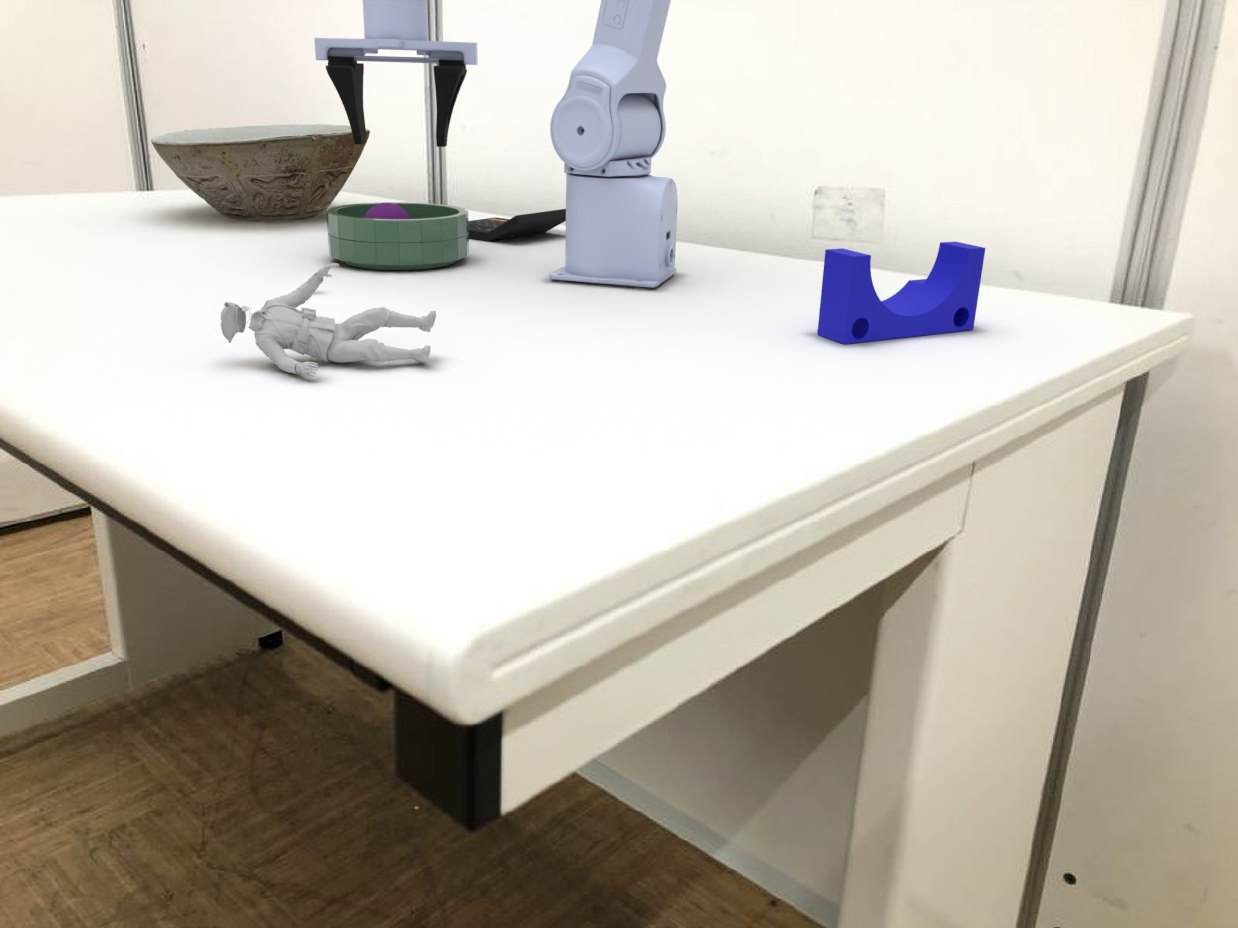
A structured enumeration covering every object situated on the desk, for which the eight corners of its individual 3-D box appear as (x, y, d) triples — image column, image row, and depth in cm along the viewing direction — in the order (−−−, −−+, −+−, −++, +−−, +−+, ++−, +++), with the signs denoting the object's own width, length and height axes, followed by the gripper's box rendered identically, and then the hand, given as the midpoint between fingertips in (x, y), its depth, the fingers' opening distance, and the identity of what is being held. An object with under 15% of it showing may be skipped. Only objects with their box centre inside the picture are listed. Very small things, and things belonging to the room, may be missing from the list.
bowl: (115, 224, 115) (101, 127, 111) (226, 199, 137) (218, 118, 133) (322, 235, 111) (315, 135, 108) (402, 208, 133) (398, 124, 130)
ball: (429, 234, 100) (405, 189, 98) (410, 250, 96) (385, 203, 94) (389, 251, 102) (365, 207, 100) (369, 267, 98) (344, 221, 96)
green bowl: (489, 254, 103) (488, 207, 102) (432, 277, 92) (430, 224, 90) (372, 245, 106) (369, 199, 105) (303, 265, 95) (299, 214, 93)
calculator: (495, 225, 122) (495, 198, 121) (575, 236, 116) (576, 208, 115) (437, 233, 115) (436, 205, 114) (519, 245, 109) (519, 216, 108)
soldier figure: (425, 396, 63) (212, 340, 58) (404, 429, 67) (203, 380, 62) (442, 287, 66) (242, 227, 62) (422, 325, 70) (232, 271, 66)
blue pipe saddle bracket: (930, 317, 82) (940, 238, 80) (973, 329, 79) (985, 247, 76) (804, 329, 77) (812, 246, 75) (844, 344, 73) (853, 256, 71)
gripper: (301, -18, 92) (312, 145, 97) (470, -13, 92) (473, 150, 97) (321, -13, 99) (331, 140, 103) (478, -8, 99) (481, 145, 104)
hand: (401, 145), depth 101 cm, fingers open, 7 cm apart
